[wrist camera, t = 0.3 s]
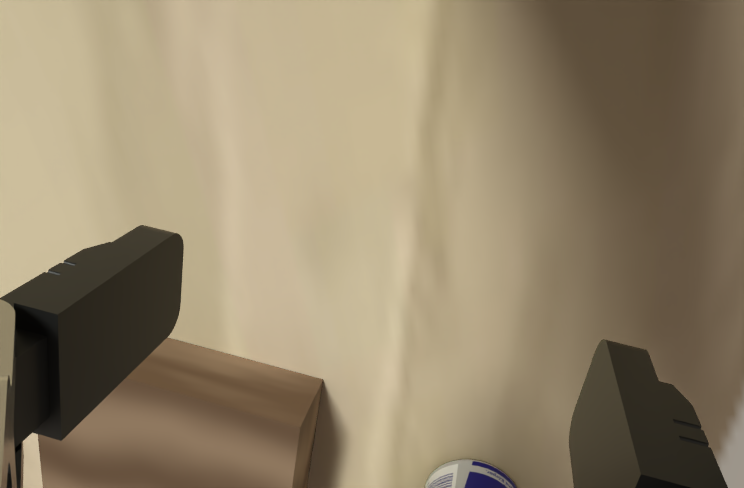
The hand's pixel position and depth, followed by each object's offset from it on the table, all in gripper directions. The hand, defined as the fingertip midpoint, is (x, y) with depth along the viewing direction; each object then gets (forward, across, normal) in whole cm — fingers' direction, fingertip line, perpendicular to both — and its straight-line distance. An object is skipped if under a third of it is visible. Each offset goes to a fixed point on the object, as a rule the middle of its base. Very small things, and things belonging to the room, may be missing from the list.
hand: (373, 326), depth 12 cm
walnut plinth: (+19, +12, +21) cm, 31 cm away
